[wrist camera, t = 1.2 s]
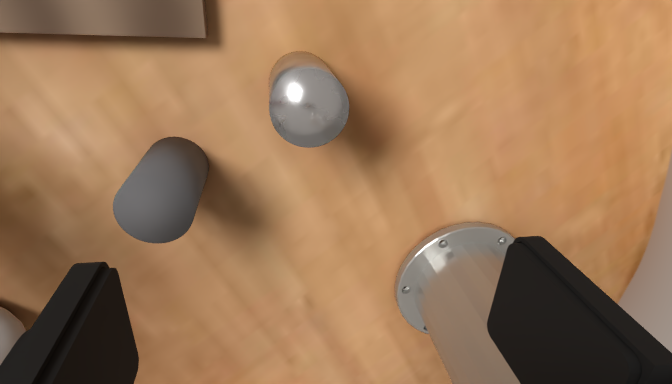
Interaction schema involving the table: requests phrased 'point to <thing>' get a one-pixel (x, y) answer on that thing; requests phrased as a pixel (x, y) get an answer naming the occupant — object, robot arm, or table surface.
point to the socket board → (106, 17)
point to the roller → (162, 191)
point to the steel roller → (306, 100)
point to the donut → (8, 332)
